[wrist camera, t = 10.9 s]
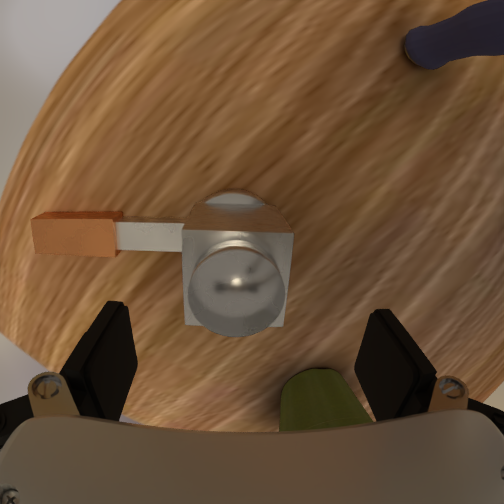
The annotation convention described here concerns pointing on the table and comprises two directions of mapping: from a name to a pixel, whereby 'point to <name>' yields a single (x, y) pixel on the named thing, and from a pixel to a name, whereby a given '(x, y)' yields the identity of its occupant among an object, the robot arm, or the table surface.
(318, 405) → the plant pot
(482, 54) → the rubber mallet
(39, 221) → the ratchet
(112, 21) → the table surface
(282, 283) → the socket
